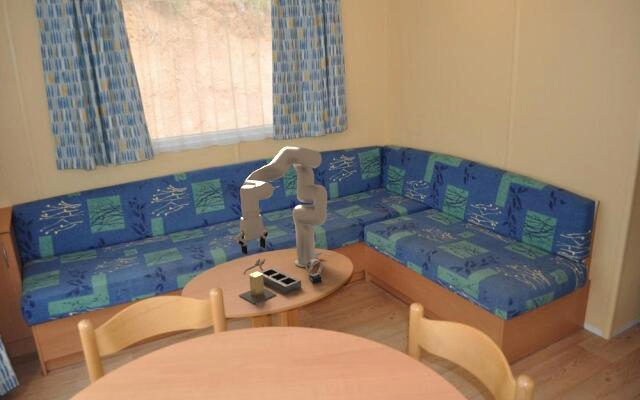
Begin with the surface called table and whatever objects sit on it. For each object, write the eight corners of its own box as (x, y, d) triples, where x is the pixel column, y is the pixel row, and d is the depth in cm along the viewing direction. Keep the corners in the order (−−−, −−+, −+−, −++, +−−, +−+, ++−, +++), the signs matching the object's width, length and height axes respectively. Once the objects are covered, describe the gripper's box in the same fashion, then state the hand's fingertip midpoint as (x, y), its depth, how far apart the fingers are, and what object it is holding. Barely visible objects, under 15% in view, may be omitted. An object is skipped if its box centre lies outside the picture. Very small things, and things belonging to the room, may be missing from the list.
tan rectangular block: (259, 291, 220) (257, 271, 218) (264, 294, 217) (262, 274, 215) (251, 294, 218) (249, 274, 215) (256, 297, 215) (254, 277, 212)
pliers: (242, 274, 239) (247, 259, 259) (243, 276, 240) (247, 260, 259) (262, 273, 240) (264, 258, 259) (262, 275, 240) (265, 259, 259)
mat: (260, 287, 226) (260, 286, 226) (276, 295, 217) (276, 294, 217) (239, 296, 218) (239, 294, 218) (254, 304, 209) (254, 303, 209)
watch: (305, 280, 231) (304, 259, 228) (320, 277, 234) (319, 256, 231) (309, 285, 226) (308, 263, 223) (324, 281, 229) (324, 260, 226)
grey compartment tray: (258, 280, 233) (257, 273, 232) (272, 274, 239) (272, 267, 238) (286, 294, 217) (285, 286, 216) (301, 288, 223) (300, 280, 222)
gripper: (261, 207, 215) (264, 243, 220) (229, 216, 204) (232, 253, 209) (271, 210, 210) (274, 247, 215) (238, 220, 199) (242, 258, 204)
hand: (254, 250), depth 212 cm, fingers open, 9 cm apart
